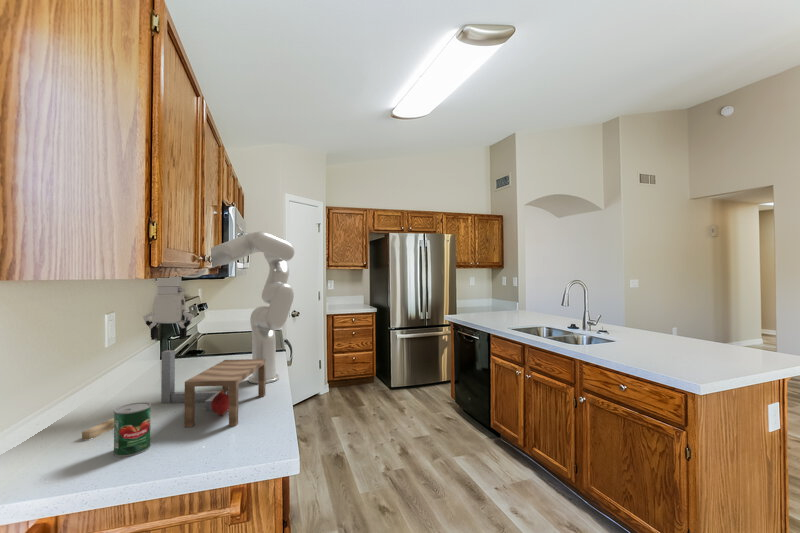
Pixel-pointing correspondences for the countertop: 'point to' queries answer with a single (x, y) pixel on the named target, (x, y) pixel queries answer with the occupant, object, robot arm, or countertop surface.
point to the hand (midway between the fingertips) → (168, 339)
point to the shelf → (224, 384)
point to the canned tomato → (132, 429)
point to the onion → (220, 403)
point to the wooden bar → (98, 429)
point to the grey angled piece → (169, 384)
